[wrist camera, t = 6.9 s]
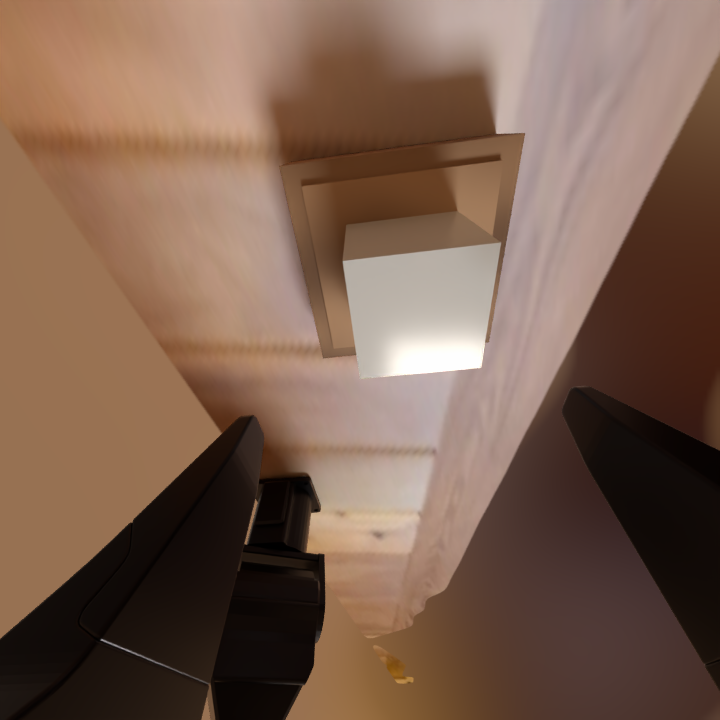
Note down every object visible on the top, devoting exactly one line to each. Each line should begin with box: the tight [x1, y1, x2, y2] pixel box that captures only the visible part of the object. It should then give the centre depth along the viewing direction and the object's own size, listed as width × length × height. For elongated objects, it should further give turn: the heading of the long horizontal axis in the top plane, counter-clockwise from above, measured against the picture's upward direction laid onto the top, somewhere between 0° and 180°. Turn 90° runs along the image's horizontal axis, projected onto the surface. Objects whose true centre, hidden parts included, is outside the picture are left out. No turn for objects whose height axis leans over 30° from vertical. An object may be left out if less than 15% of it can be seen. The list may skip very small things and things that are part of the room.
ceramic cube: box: [343, 211, 501, 379], centre depth 13 cm, size 5×5×5 cm
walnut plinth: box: [279, 133, 525, 358], centre depth 16 cm, size 10×10×3 cm
